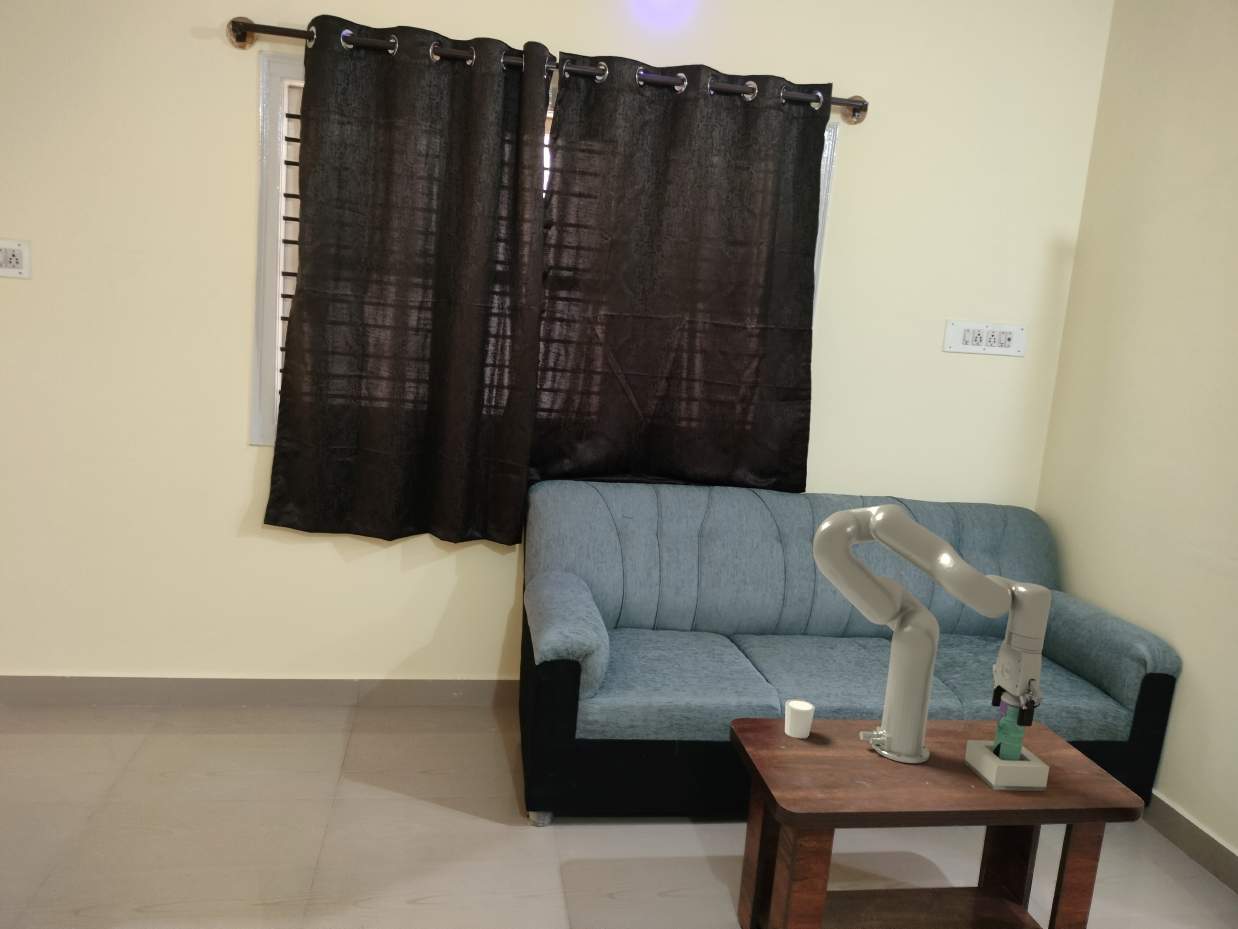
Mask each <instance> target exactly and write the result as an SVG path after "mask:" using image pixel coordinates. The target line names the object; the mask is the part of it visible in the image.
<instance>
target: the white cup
mask: <svg viewBox="0 0 1238 929" xmlns="http://www.w3.org/2000/svg"><path fill="white" fill-rule="evenodd" d="M784 709H785V714H784V715H785V716H784V718H785V719H784V733H785V734H786V735H787V736H789V737H792V738H795V739H802V738H803V739H807V738H809V737H810V733H811V727H812V722H813V719H814V714H815V709H816V707H815V705H814V704H812V703H810V702H809V701H806V700H802V699H788V700H786V701H785V708H784ZM808 736H809V737H808Z"/></svg>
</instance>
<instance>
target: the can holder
mask: <svg viewBox="0 0 1238 929" xmlns="http://www.w3.org/2000/svg"><path fill="white" fill-rule="evenodd" d="M966 741H967V742H966V749H965V753H964V761H963V762H964V763H963V764H965V765H966V766H967V767H968V766H969V767H970V768H971V769H972V770H973V771H974V772H975V773H974V772H973V771H972V770H971V769H970V768H969V767H968V768H969V769H970V770H971V771H972V772H973V773H974V774H975V775H976V776H977V777H979V778H980V777H981V778H982V779H983V780H984V781H985V782H986V783H987V784H988V785H987V784H986V783H985V782H984V781H983V780H982V779H981V778H980V779H981V780H982V781H983V782H984V783H985V784H986V785H987V786H988V787H989V788H991V789H992V790H993V791H1021V792H1022V791H1024V792H1036V791H1037V792H1046V791H1047V790H1046V789H1047V785H1048V776H1049V770H1050V766H1049V765H1047V763H1045V762H1043V761H1042V760H1041V759H1040V758H1038V757H1037V756H1036V755H1035V754H1034V753H1032V751H1030V750H1028V749H1027V748H1026V747H1025V746H1023V745H1022V749H1021V755H1020V761H1009V760H1001V759H999V758H998V757H997V756H996V755H995V754H993V748H994V741H995V740H977V739H974V740H973V739H967V740H966Z"/></svg>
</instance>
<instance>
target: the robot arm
mask: <svg viewBox="0 0 1238 929" xmlns="http://www.w3.org/2000/svg"><path fill="white" fill-rule="evenodd" d="M872 542H873V543H874V542H878V543H879V544H880V545H882V546H883V547H884V548H886V549H888V550H889V551H891V552H892V553H894V554H896V555H897V556H898V557H900V558H901V559H903V560H905V561H906V562H907V563H909V564H911V565H912V566H913V567H916V568H917V570H919V571H921V572H923V573H924V574H925V575H926V576H928V578H930V579H931V581H933V582H935V583H936V584H937V585H939V586H940V587H941V588H942V589H944V590H945V591H946V592H947V593H949V594H950V595H951V596H952V597H954V598H955V599H957V600H958V601H959V602H961V603H963V604H964V605H966V606H967V607H968V608H970V609H971V610H973V611H974V612H976V613H978V614H980V615H981V616H984V617H987V618H991V619H992V618H994V619H995V618H1000V617H1003V616H1005V615H1006V614H1008V619H1007V625H1006V629H1005V635H1004V636H1005V637H1004V639H1003V640H1002V643H1001V645H1000V647H999V651H998V654H997V657H996V662H995V663H994V664H992V673H993V675H992V680H993V684H992V687H993V693H992V698H991V706H992V707H997V708H1000V702H1001V696H1002V693H1003V692H1006V691H1008V692H1009V693H1011V694H1012V695H1014V696H1019V697H1020V701H1021V705H1022V707H1019V712H1018V718H1017V725H1018V726H1025V727H1032V725H1033V721H1034V715H1035V711H1036V710H1037V709H1038V707H1039V706H1040V705H1041V703H1042V701H1043V700H1044V698H1045V697H1044V694H1043V692H1042V690H1041V689H1040V682H1041V673H1042V651H1043V648H1044V641H1045V636H1046V630H1047V626H1048V625H1047V624H1048V619H1049V613H1050V609H1051V603H1052V592H1051V590H1050V589H1049V588H1048V587H1045V586H1043V585H1040V584H1036V583H1031V582H1020V581H1018V580H1017V581H1016V580H1013V579H1010V578H1008V577H1007V578H1006V577H1004V576H1001V575H996V574H986V575H984V574H983V573H981V572H980V571H978V570H977V569H975V568H974V567H973V566H971V565H970V564H969V563H968V562H966V561H965V560H964V559H963V558H962V557H961V556H960V554H958V553H957V551H956V550H955V549H954V548H953V546H952V545H951V544H950V543H949V542H948V541H947V540H945V539H943V538H942V537H940V536H939V535H937V534H936V533H934V532H932V530H931V531H930V529H928V528H926V527H925V526H923V525H922V524H920V523H918V522H917V521H915V520H913V519H912V518H911V517H910V515H909V513H908V511H907V510H906V509H905V508H903V506H900V505H899V504H898V505H897V504H895V503H893V504H892V503H890V504H889V503H888V504H881V505H873V506H868V507H859V508H852V509H845V510H844V509H843V510H839V511H836V512H834V513H832V514H830V515H829V516H828V517H826V518H825V519H824V520H823V521H822V523H821V524H820V525H819V526H818V528H817V530H816V532H815V535H814V539H813V543H812V544H813V545H812V553H813V558H814V562H815V564H816V566H817V568H818V569H819V571H820V572H821V573H822V574H823V576H824V577H825V578H826V579H827V580H828V581H829V582H830V583H831V584H832V585H833V586H834V587H835V588H836V589H837V590H838V591H839V592H840V593H841V594H842V595H843V596H844V597H845V599H847V601H848V602H850V603H851V604H852V605H853V606H854V607H855V608H856V609H857V610H858V612H860V613H861V614H862V616H864V618H866V620H868V621H869V622H871V623H873V624H876V625H879V626H880V625H886V626H887V627H888V628H890V629H891V630H892V631H893V634H892V638H891V645H890V655H889V666H888V673H887V679H886V681H887V682H886V690H885V697H884V704H883V705H884V706H883V712H882V720H881V726H876V730H873V731H865V730H864V731H863V730H862V731H860V732H859V738H860V740H862V741H869V743H870V745H871V746H872V748H873V750H874V751H875V752H877V753H878V754H879V755H881V756H883V757H885V758H887V759H890V760H892V761H896V762H901V763H904V764H906V763H907V764H921V763H924V762H927V761H928V760H929V758H930V750H929V749H928V747H927V746H925V745H924V743H925V735H926V729H927V724H928V723H927V721H928V714H929V708H930V707H929V706H930V701H931V700H930V699H931V691H932V684H933V678H934V671H935V663H936V656H937V652H938V646H939V645H938V644H939V638H940V625H939V622H938V620H937V619H936V617H935V616H934V615H933V613H932V612H931V611H930V610H929V609H928V608H927V607H926V606H925V605H924V604H923V603H921V601H920V600H918V599H917V598H916V597H915V596H914V595H913V594H912V593H911V592H910V591H909V590H908V589H907V588H906V587H904V585H902V584H901V583H900V582H899V581H897V580H896V579H894V578H892V577H890V576H886V575H885V576H884V575H879V576H878V575H876V573H874V572H873V571H872V570H871V569H870V568H869V567H868V566H867V564H865V563H864V562H863V561H861V560H860V559H859V558H858V557H856V556H855V555H854V553H853V552H852V547H853V545H856V544H857V545H858V544H865V543H872ZM1026 698H1028V699H1029V700H1028V702H1026Z"/></svg>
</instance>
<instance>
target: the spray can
mask: <svg viewBox="0 0 1238 929" xmlns="http://www.w3.org/2000/svg"><path fill="white" fill-rule="evenodd" d="M1028 701H1029V698H1026V702H1028ZM1019 707H1022V705H1021V701H1020V697H1019V696H1014V695H1012V694H1011V693H1009V692H1008V691H1006V692H1003V693H1002V696H1001V702H1000V707H999V709H998V710H999V711H998V716H997V723H996V730H995V736H994V740H993V741H994V748H993V754H995V755H996V756H997V757H998V758H999V759H1001V760H1009V761H1020V755H1021V749H1022V746H1023V741H1024V735H1025V734H1024V733H1025V729H1026V726H1018V725H1017V718H1018V712H1019Z"/></svg>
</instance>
